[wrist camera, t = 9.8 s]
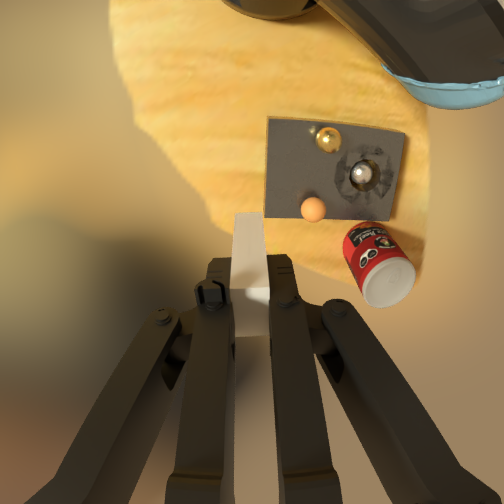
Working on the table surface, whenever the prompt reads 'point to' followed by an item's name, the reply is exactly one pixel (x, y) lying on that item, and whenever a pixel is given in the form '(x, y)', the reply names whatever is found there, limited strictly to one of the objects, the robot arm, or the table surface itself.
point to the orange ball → (313, 209)
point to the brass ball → (328, 140)
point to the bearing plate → (329, 169)
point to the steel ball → (361, 172)
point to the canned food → (378, 265)
